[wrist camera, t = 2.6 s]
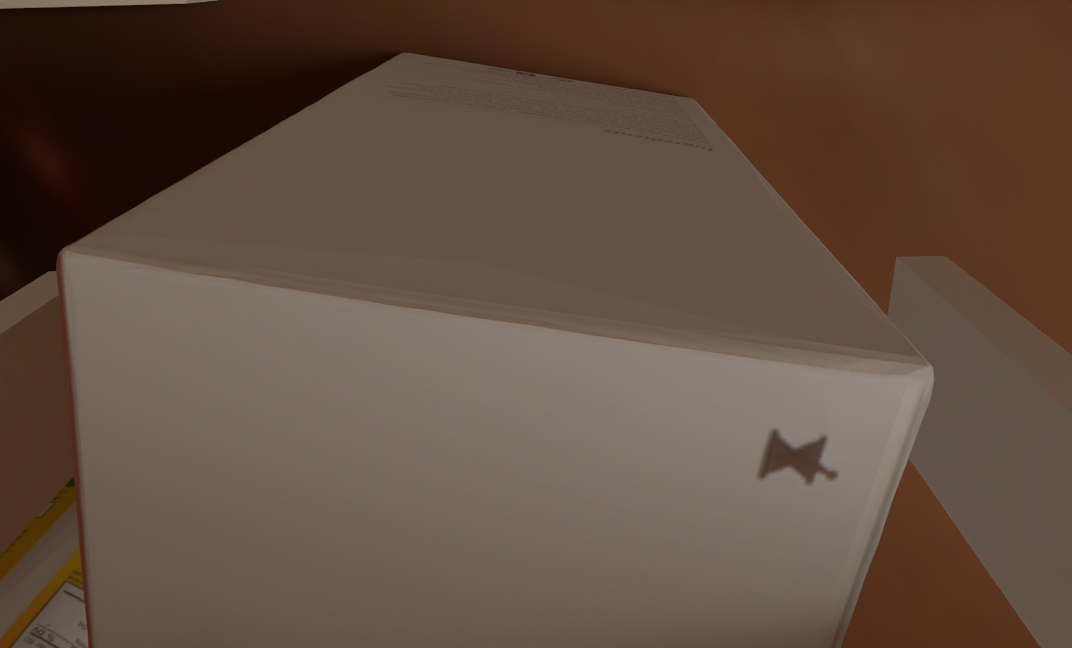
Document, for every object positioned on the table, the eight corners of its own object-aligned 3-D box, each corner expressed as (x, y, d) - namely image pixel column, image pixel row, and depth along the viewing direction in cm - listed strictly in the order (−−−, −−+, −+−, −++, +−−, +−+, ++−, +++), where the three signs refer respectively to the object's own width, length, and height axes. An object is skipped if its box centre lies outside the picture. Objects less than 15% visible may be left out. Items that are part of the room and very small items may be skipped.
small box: (397, 47, 18) (28, 221, 6) (700, 94, 18) (978, 364, 6) (369, 392, 21) (97, 980, 9) (627, 430, 21) (708, 1059, 9)
